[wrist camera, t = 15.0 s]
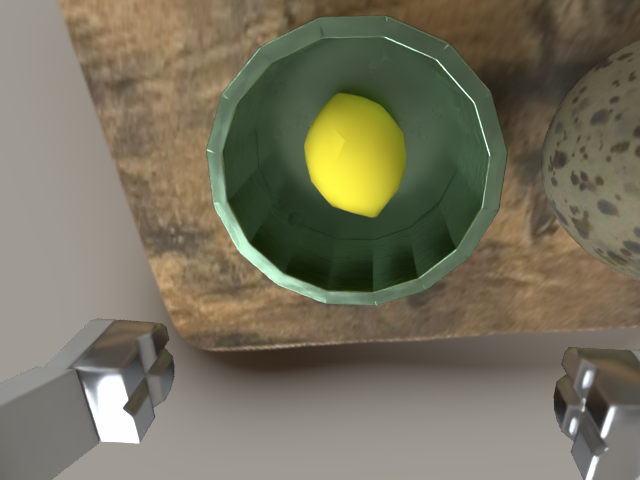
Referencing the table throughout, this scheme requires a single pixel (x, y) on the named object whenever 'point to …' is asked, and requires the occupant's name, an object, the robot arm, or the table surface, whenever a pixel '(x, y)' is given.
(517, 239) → the table surface
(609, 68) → the decorative egg
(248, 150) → the pot
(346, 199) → the lemon
